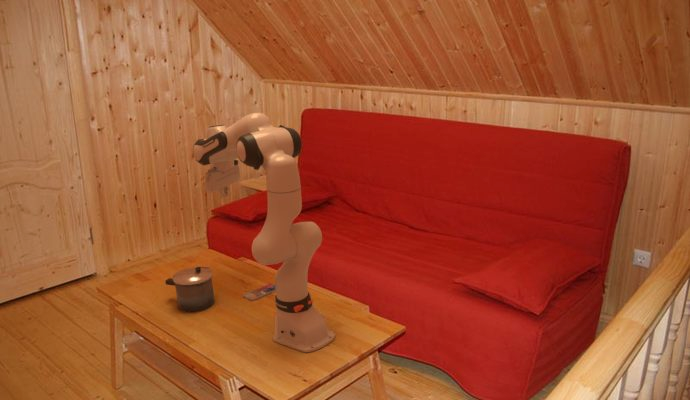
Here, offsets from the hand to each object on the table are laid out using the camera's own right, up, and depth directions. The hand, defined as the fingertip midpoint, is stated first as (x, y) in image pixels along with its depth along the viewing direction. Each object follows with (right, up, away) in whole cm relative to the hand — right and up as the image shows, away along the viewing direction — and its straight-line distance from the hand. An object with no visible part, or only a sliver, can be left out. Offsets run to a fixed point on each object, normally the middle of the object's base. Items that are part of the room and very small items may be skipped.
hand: (224, 197), depth 231 cm
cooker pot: (-12, -42, -8) cm, 45 cm away
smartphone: (+16, -40, -3) cm, 43 cm away
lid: (-10, -31, -13) cm, 35 cm away
